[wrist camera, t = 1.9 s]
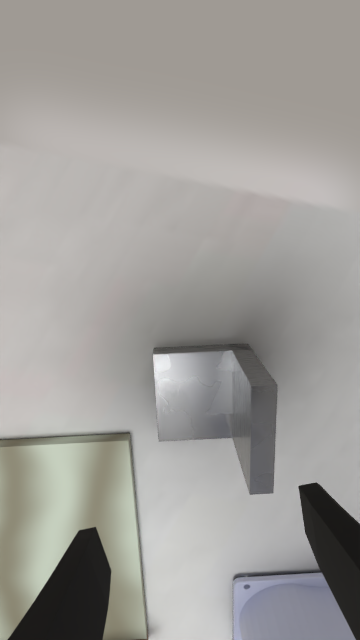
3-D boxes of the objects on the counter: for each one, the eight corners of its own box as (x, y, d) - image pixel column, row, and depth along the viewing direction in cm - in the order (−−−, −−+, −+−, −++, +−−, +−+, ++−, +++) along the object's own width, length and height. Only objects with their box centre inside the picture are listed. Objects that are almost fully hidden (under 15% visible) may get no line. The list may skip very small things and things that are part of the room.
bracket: (247, 343, 21) (277, 385, 15) (246, 426, 22) (273, 493, 16) (153, 348, 21) (147, 391, 15) (159, 430, 22) (155, 499, 16)
